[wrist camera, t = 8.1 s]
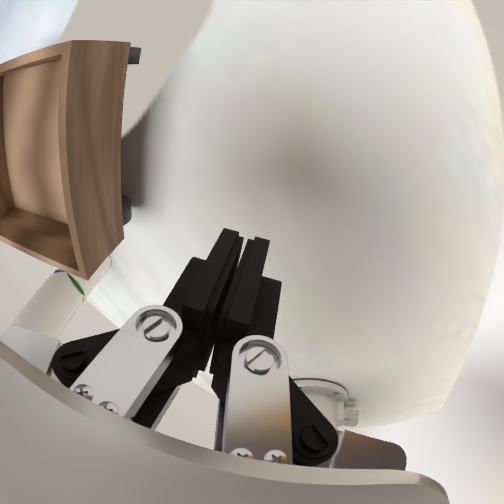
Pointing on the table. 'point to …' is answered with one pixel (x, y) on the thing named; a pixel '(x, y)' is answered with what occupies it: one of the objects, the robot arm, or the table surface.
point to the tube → (57, 301)
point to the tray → (64, 153)
